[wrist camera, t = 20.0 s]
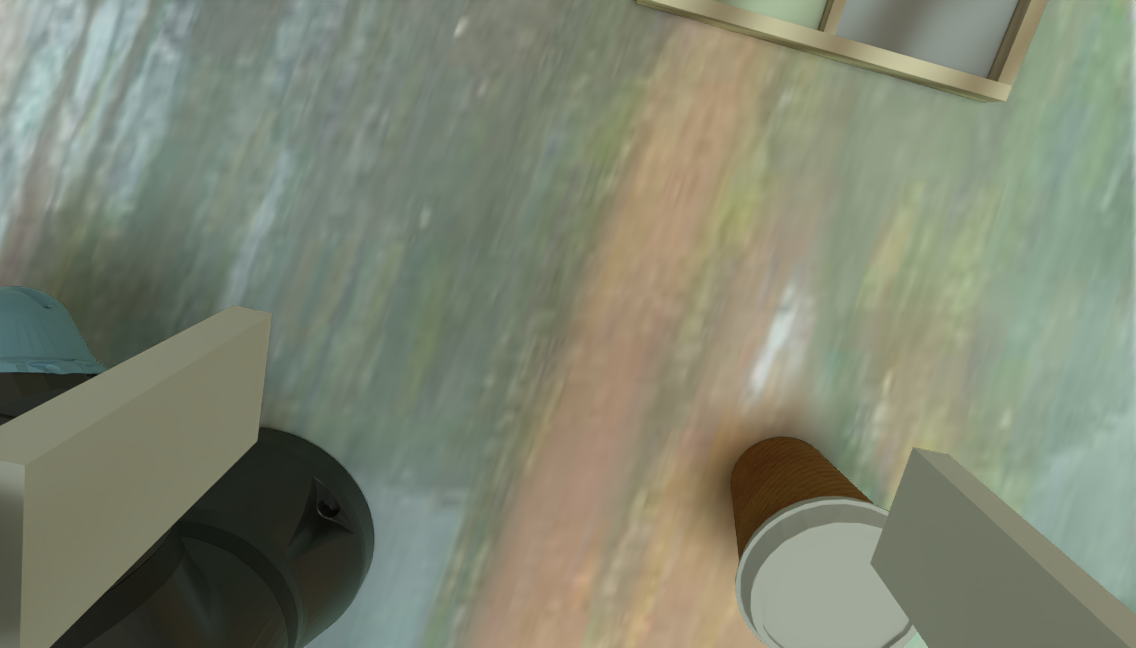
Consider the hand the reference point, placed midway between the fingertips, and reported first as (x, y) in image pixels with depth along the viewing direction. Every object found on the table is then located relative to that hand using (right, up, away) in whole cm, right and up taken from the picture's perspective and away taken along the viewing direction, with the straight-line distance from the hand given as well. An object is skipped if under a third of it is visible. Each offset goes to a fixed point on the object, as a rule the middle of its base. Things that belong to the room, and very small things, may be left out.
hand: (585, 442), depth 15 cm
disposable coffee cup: (+13, -8, +32) cm, 36 cm away
